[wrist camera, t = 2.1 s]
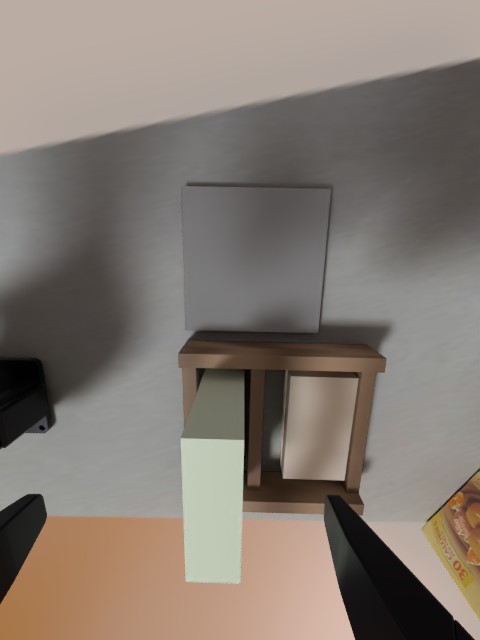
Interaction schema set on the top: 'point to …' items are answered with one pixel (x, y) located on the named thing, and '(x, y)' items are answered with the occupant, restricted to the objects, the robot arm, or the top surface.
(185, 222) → the mat
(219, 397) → the pale green square slab
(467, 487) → the candy box
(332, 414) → the upper offcut
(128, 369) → the top surface
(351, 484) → the rack
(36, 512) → the robot arm
